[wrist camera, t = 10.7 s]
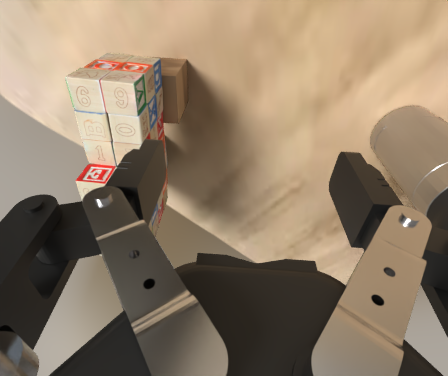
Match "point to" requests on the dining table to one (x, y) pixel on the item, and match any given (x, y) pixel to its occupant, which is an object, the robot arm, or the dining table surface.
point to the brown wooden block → (174, 88)
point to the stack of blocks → (117, 116)
